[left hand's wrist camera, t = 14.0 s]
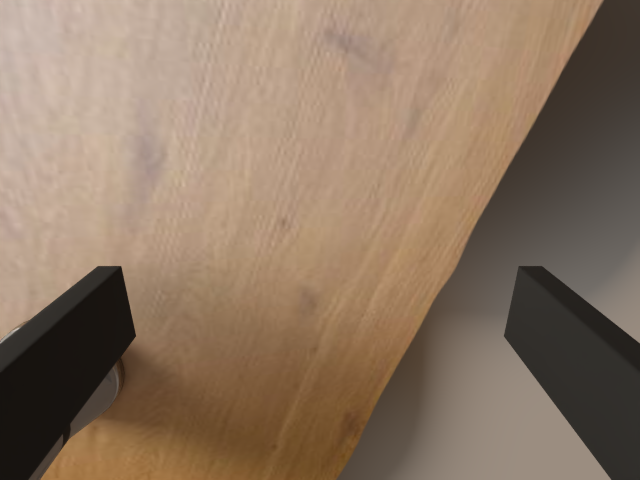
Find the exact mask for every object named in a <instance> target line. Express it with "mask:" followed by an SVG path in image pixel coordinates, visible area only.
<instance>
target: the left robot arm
mask: <svg viewBox="0 0 640 480" xmlns="http://www.w3.org/2000/svg"><path fill="white" fill-rule="evenodd" d="M135 337H136V334H135V329H134V324H133V319H132V315H131V310H130V305H129V301H128V296H127V291H126V286H125V282H124V277H123V272H122V268H121V266H98V267H96V268H95V269H94V270H93V271H91V272H90V273H89V274H88V275H86V276H85V277H84V278H82V279H81V280H80V281H79V282H77V283H76V284H75V285H74V286H72V287H71V288H70V289H69V290H67V291H66V292H65V293H64V294H62V295H61V296H60V297H58V298H57V299H56V300H55V301H53V302H52V303H51V304H50V305H48V306H47V307H46V308H45V309H43V310H42V311H41V312H39V313H38V314H37V315H36V316H34V317H33V318H32V319H31V320H29V321H26V322H24V323H22V324H20V325H19V326H17V327H16V328H15V329H13V330H12V331H11V332H10V333H8V334H7V335H6V336H4V337H3V338H2V339H1V341H0V480H40V479H41V477H42V476H43V475H44V473H45V472H46V470H47V469H48V468H49V466H50V465H51V463H52V462H53V460H54V459H55V458H56V456H57V455H58V453H59V452H60V451H61V449H62V448H63V446H64V445H65V444H66V442H67V441H68V440H69V439H70V438H71V437H72V436H73V435H75V434H76V433H77V432H79V431H80V430H81V429H83V428H84V427H85V426H86V425H88V424H89V423H90V422H92V421H93V420H94V419H95V418H97V417H98V416H99V415H101V414H102V413H103V412H105V411H106V410H107V409H108V408H109V407H110V406H111V404H112V403H113V401H114V400H115V398H116V397H117V395H118V394H119V392H120V391H121V388H122V386H123V382H124V369H123V365H122V362H121V359H120V357H121V356H122V354H123V353H124V352H125V350H126V349H127V348H128V346H129V345H130V344H131V342H132V341H133V340H134V338H135ZM504 337H505V338H506V340H507V341H508V342H509V344H510V345H511V346H512V348H513V349H514V350H515V352H516V353H517V354H518V355H519V357H520V358H521V360H522V361H523V362H524V364H525V365H526V366H527V368H528V369H529V370H530V372H531V373H532V374H533V376H534V377H535V378H536V380H537V381H538V382H539V384H540V385H541V386H542V388H543V389H544V390H545V392H546V393H547V394H548V396H549V397H550V398H551V400H552V401H553V402H554V404H555V405H556V406H557V408H558V409H559V410H560V412H561V413H562V414H563V416H564V417H565V418H566V420H567V421H568V422H569V424H570V425H571V426H572V428H573V429H574V430H575V432H576V433H577V434H578V436H579V437H580V438H581V440H582V441H583V442H584V444H585V445H586V446H587V448H588V449H589V450H590V452H591V453H592V454H593V456H594V457H595V458H596V460H597V461H598V462H599V464H600V465H601V466H602V468H603V469H604V470H605V472H606V473H607V474H608V476H609V477H610V478H611V480H640V343H638V342H637V341H636V340H635V339H633V338H632V337H631V336H629V335H628V334H627V333H626V332H624V331H623V330H622V329H621V328H619V327H618V326H617V325H616V324H614V323H613V322H612V321H611V320H609V319H608V318H607V317H606V316H604V315H603V314H602V313H601V312H599V311H598V310H597V309H595V308H594V307H593V306H592V305H590V304H589V303H588V302H587V301H585V300H584V299H583V298H582V297H580V296H579V295H578V294H576V293H575V292H574V291H573V290H571V289H570V288H569V287H568V286H566V285H565V284H564V283H563V282H561V281H560V280H559V279H557V278H556V277H555V276H554V275H552V274H551V273H550V272H549V271H547V270H546V269H545V268H544V267H542V266H519V268H518V272H517V277H516V282H515V286H514V291H513V296H512V301H511V305H510V310H509V315H508V320H507V324H506V329H505V334H504Z"/></svg>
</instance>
